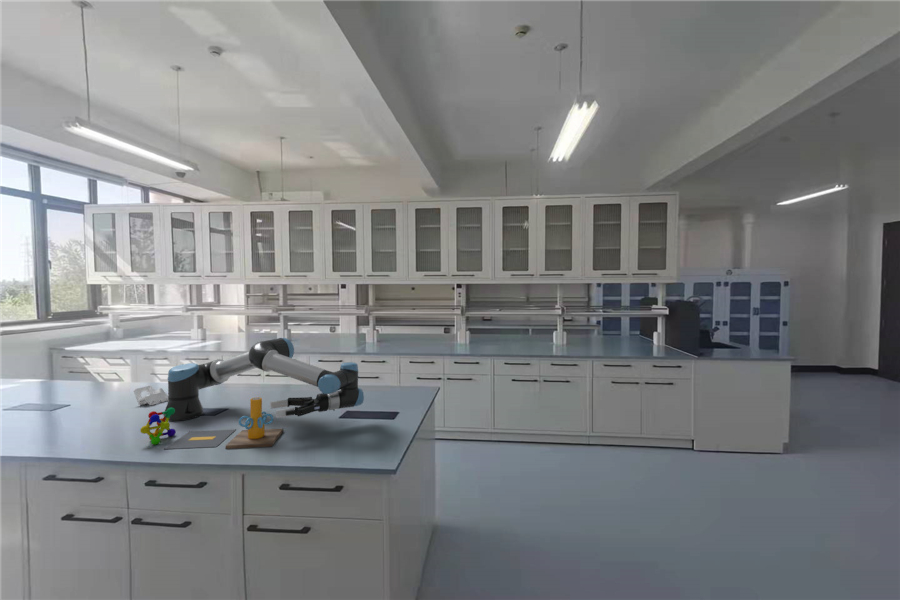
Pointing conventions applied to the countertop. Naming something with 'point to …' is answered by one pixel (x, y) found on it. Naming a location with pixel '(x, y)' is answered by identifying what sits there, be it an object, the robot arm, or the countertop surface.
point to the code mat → (200, 439)
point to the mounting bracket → (150, 396)
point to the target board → (245, 442)
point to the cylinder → (256, 419)
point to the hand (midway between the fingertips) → (273, 409)
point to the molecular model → (161, 424)
